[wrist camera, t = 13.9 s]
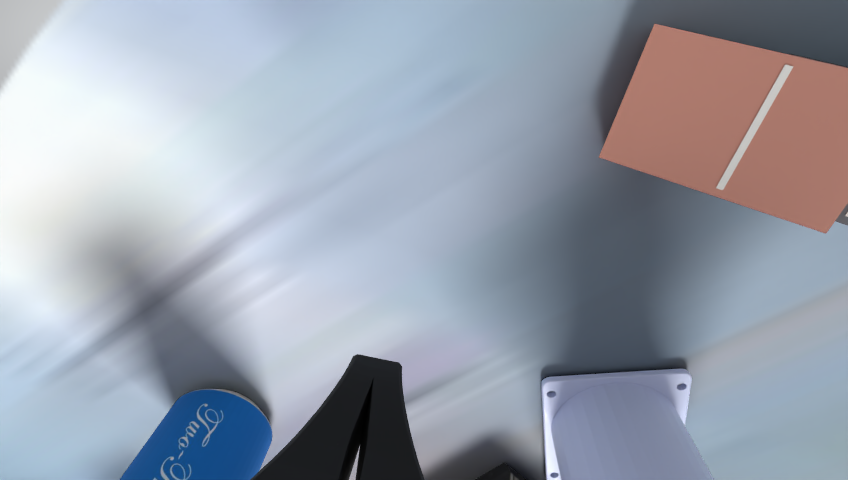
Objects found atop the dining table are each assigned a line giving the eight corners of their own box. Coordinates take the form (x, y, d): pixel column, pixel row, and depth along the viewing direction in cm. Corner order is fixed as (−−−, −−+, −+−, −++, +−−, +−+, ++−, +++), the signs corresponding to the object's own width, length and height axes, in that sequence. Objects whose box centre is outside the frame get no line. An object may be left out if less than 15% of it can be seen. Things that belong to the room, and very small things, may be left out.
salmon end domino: (598, 157, 18) (826, 233, 16) (654, 23, 16) (931, 87, 13) (605, 149, 20) (811, 216, 17) (656, 27, 18) (902, 84, 15)
